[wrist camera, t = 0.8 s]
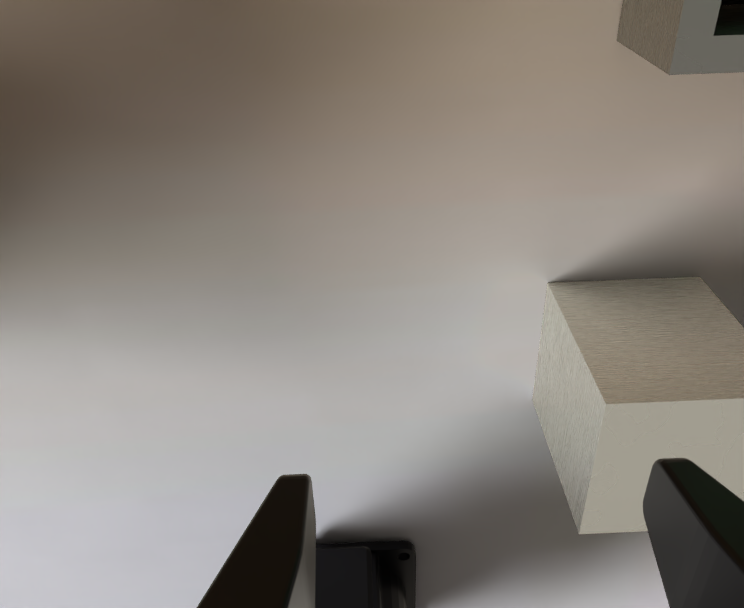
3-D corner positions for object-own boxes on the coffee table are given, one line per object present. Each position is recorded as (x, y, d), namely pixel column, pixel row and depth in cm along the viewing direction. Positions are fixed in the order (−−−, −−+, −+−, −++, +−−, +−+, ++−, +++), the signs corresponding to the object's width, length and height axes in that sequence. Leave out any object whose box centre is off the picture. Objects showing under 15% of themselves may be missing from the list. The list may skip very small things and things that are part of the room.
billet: (667, 393, 25) (748, 526, 20) (531, 399, 25) (578, 534, 20) (699, 275, 22) (802, 395, 17) (547, 281, 22) (605, 404, 17)
